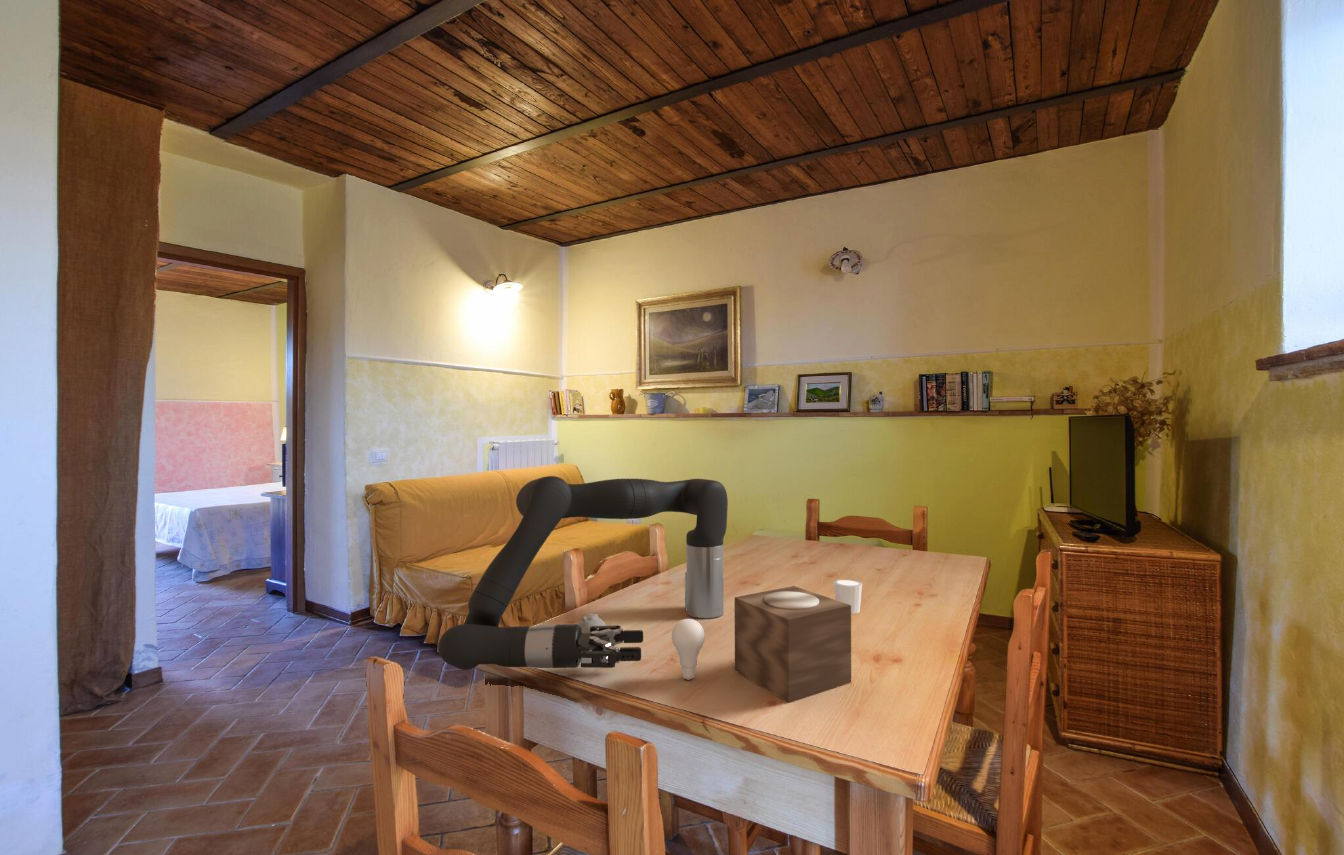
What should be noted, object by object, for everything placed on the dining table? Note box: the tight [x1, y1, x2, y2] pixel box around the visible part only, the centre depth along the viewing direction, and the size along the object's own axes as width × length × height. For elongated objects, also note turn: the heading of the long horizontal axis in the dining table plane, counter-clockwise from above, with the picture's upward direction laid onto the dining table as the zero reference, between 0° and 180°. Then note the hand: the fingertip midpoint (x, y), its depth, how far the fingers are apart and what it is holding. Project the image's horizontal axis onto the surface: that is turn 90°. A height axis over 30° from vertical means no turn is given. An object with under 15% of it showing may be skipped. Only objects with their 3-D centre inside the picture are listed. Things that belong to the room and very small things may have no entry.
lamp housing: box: [734, 585, 852, 704], centre depth 109 cm, size 15×15×14 cm
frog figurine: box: [578, 613, 607, 634], centre depth 123 cm, size 6×7×7 cm
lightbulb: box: [671, 618, 706, 681], centre depth 108 cm, size 6×6×11 cm
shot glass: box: [833, 579, 863, 615], centre depth 148 cm, size 7×7×7 cm
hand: (642, 644), depth 108 cm, fingers open, 8 cm apart
